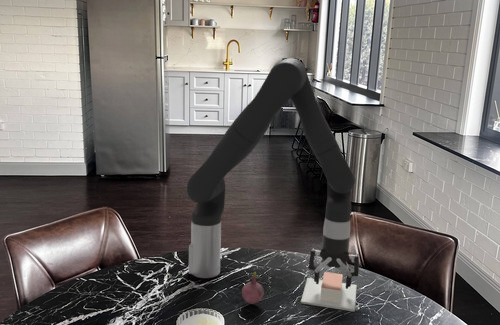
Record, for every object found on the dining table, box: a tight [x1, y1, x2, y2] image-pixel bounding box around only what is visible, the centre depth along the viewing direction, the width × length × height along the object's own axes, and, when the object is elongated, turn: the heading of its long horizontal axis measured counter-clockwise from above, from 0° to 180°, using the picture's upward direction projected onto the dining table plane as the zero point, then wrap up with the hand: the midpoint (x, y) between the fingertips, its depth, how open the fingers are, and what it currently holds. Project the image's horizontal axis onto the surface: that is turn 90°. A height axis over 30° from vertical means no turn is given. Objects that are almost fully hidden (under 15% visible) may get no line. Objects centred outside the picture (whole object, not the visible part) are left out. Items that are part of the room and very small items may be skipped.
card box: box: [320, 271, 344, 303], centre depth 141 cm, size 10×6×4 cm, turn 166°
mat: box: [300, 277, 358, 312], centre depth 141 cm, size 15×15×1 cm
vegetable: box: [241, 271, 265, 305], centre depth 133 cm, size 6×6×10 cm
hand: (332, 285), depth 140 cm, fingers open, 8 cm apart
